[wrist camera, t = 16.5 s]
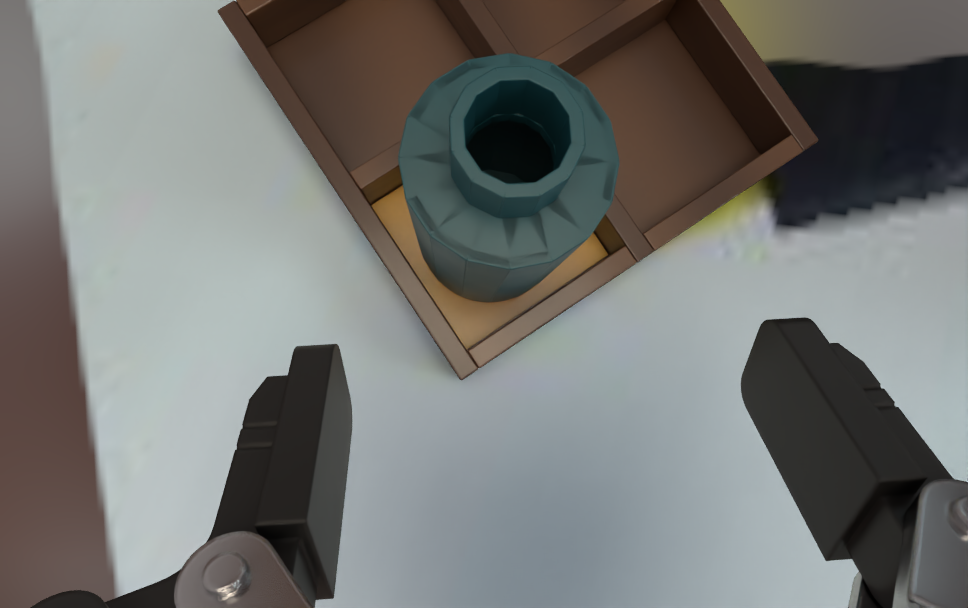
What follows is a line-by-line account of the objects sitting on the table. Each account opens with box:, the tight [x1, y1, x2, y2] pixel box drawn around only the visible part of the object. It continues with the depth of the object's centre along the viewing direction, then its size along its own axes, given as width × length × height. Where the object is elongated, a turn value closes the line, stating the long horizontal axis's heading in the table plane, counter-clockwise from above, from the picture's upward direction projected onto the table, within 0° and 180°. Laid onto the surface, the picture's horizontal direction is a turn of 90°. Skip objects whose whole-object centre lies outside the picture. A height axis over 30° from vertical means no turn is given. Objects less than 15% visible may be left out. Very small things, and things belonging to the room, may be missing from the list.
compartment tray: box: [218, 0, 818, 380], centre depth 25 cm, size 17×17×3 cm
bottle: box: [398, 53, 620, 302], centre depth 20 cm, size 6×6×12 cm
